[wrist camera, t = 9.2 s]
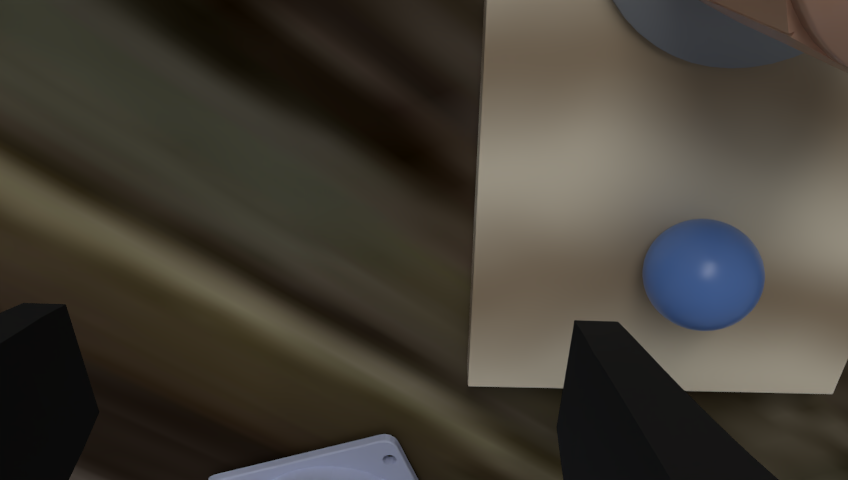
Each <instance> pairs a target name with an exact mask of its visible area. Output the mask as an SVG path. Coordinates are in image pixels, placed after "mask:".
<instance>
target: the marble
mask: <svg viewBox="0 0 848 480" xmlns="http://www.w3.org/2000/svg"><path fill="white" fill-rule="evenodd" d="M642 277H643V284H644V288H645V291H646V294H647V296H648V298H649V300H650V302H651V303H652V305H653V306H654V307H655V309H656V310H657V311H658V312H659V313H660V314H661V315H662V316H663V317H665V318H666V319H668V320H669V321H671V322H672V323H674V324H676V325H678V326H681V327H684V328H686V329H691V330H697V331H714V330H719V329H723V328H727V327H729V326H732V325H734V324H736V323H737V322H739V321H741V320H742V319H743V318H745V317H746V316H747V315H748V314H749V313H750V312H751V311H752V310H753V309H754V307H755V306H756V305H757V303H758V301H759V299H760V297H761V295H762V292H763V289H764V282H765V269H764V264H763V260H762V258H761V255H760V253H759V251H758V249H757V248H756V246H755V245H754V243H753V242H752V241H751V240H750V239H749V238H748V237H747V236H746V235H745V234H744V233H743V232H741V231H740V230H739V229H737V228H735V227H733V226H732V225H729V224H727V223H724V222H721V221H717V220H712V219H692V220H687V221H684V222H681V223H678V224H676V225H674V226H672V227H670V228H668V229H667V230H665V231H664V232H663V233H661V234H660V235H659V236H658V237H657V238H656V239H655V240H654V242H653V243H652V244H651V246H650V247H649V249H648V252H647V254H646V256H645V259H644V263H643V270H642Z"/></svg>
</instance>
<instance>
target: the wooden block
mask: <svg viewBox="0 0 848 480" xmlns="http://www.w3.org/2000/svg"><path fill="white" fill-rule="evenodd" d="M699 1H701V2H703V3H704V4H706V5H708V6H710V7H712V8H713V9H715V10H717V11H719V12H721V13H722V14H724V15H726V16H728V17H730V18H732V19H733V20H735V21H737V22H739V23H741V24H743V25H746V26H748V27H750V28H752V29H754V30H756V31H758V32H761V33H763V34H765V35H767V36H769V37H771V38H773V39H776V40H778V41H780V42H782V43H784V44H786V45H788V46H791V47H793V48H795V49H797V50H799V51H801V52H803V53H806V54H808V55H810V56H812V57H814V58H816V59H818V60H821V61H823V62H825V63H827V64H829V65H831V66H833V67H836V68H838V69H840V70H842V71H844V72H846V73H848V0H699Z"/></svg>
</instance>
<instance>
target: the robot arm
mask: <svg viewBox="0 0 848 480" xmlns="http://www.w3.org/2000/svg"><path fill="white" fill-rule="evenodd" d="M98 414H99V410H98V407H97V404H96V400H95V397H94V394H93V391H92V387H91V384H90V381H89V378H88V375H87V371H86V368H85V365H84V362H83V359H82V355H81V352H80V349H79V346H78V343H77V339H76V336H75V333H74V330H73V326H72V323H71V320H70V317H69V314H68V310H67V307H66V304H34V303H23V304H20V305H18V306H16V307H13V308H11V309H8V310H6V311H4V312H2V313H0V480H69V478H70V476H71V474H72V472H73V470H74V467H75V465H76V463H77V461H78V459H79V457H80V455H81V453H82V451H83V449H84V446H85V444H86V442H87V439H88V437H89V435H90V432H91V430H92V428H93V425H94V423H95V421H96V418H97V416H98ZM557 434H558V442H559V450H560V458H561V465H562V472H563V479H564V480H778V479H777V478H776V477H775V476H774V475H773V474H771V473H770V472H769V471H768V470H767V469H766V468H765V467H764V466H762V465H761V464H760V463H759V462H758V461H757V460H756V459H755V458H753V457H752V456H751V455H750V454H749V453H748V452H747V451H746V450H745V449H744V448H743V447H742V446H741V445H739V444H738V443H737V442H736V441H735V440H734V439H733V438H732V437H731V436H730V435H729V434H728V433H727V432H726V431H725V430H724V429H723V428H722V427H721V426H719V425H718V424H717V423H716V422H715V421H714V420H713V419H712V418H711V417H710V416H709V415H708V414H707V413H706V412H705V411H704V410H703V409H702V408H701V407H700V406H699V405H698V404H697V403H696V402H695V401H694V400H693V399H692V398H691V397H690V396H689V395H688V394H687V393H686V392H685V391H684V390H683V389H682V388H681V387H680V386H679V385H678V384H677V382H676V381H675V380H674V379H673V378H672V377H671V376H670V375H669V374H668V373H667V372H666V371H665V370H664V369H663V368H662V367H661V366H660V365H659V364H658V363H657V362H656V361H655V360H654V358H653V357H652V356H651V355H650V354H649V353H648V352H647V351H646V350H645V349H644V348H643V347H642V346H641V345H640V344H639V343H638V342H637V340H636V339H635V338H634V337H633V336H632V335H631V334H630V333H629V332H628V331H627V330H626V329H625V328H624V327H623V326H622V325H621V324H620V323H619V322H616V321H583V320H574V326H573V332H572V338H571V344H570V350H569V356H568V362H567V368H566V374H565V380H564V386H563V392H562V398H561V405H560V411H559V417H558V423H557ZM386 455H392V456H386ZM208 480H418V478H417V476H416V474H415V472H414V470H413V468H412V466H411V465H410V463H409V461H408V459H407V457H406V455H405V453H404V451H403V449H402V448H401V446H400V444H399V442H398V440H397V439H396V438H395V437H393V436H392V435H388V434H380V435H376V436H372V437H368V438H364V439H360V440H356V441H351V442H347V443H343V444H339V445H335V446H331V447H327V448H323V449H318V450H314V451H310V452H306V453H302V454H298V455H294V456H289V457H285V458H281V459H277V460H273V461H269V462H265V463H260V464H256V465H252V466H248V467H244V468H240V469H236V470H232V471H227V472H223V473H219V474H215V475H212V476H211V477H210V478H209V479H208Z"/></svg>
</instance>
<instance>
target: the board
mask: <svg viewBox="0 0 848 480" xmlns="http://www.w3.org/2000/svg"><path fill="white" fill-rule="evenodd" d="M692 219H712V220H717V221H721V222H724V223H727V224H729V225H732V226H733V227H735V228H737V229H739V230H740V231H741V232H743V233H744V234H745V235H746V236H747V237H748V238H749V239H750V240H751V241H752V242H753V243H754V245H755V246H756V248H757V249H758V251H759V253H760V255H761V258H762V260H763V264H764V269H765V282H764V289H763V292H762V295H761V297H760V299H759V301H758V303H757V305H756V306H755V307H754V309H753V310H752V311H751V312H750V313H749V314H748V315H747V316H746V317H745V318H743V319H742V320H741V321H739V322H737V323H736V324H734V325H732V326H729V327H727V328H723V329H719V330H714V331H697V330H691V329H686V328H684V327H681V326H678V325H676V324H674V323H672V322H671V321H669V320H668V319H666V318H665V317H663V316H662V315H661V314H660V313H659V312H658V311H657V310H656V309H655V307H654V306H653V305H652V303H651V302H650V300H649V298H648V296H647V294H646V291H645V288H644V284H643V277H642V270H643V263H644V259H645V256H646V254H647V252H648V249H649V247H650V246H651V244H652V243H653V242H654V240H655V239H656V238H657V237H658V236H659V235H660V234H661V233H663V232H664V231H665V230H667V229H668V228H670V227H672V226H674V225H676V224H678V223H681V222H684V221H687V220H692ZM574 320H583V321H616V322H619V323H620V324H621V325H622V326H623V327H624V328H625V329H626V330H627V331H628V332H629V333H630V334H631V335H632V336H633V337H634V338H635V339H636V340H637V342H638V343H639V344H640V345H641V346H642V347H643V348H644V349H645V350H646V351H647V352H648V353H649V354H650V355H651V356H652V357H653V358H654V360H655V361H656V362H657V363H658V364H659V365H660V366H661V367H662V368H663V369H664V370H665V371H666V372H667V373H668V374H669V375H670V376H671V377H672V378H673V379H674V380H675V381H676V382H677V384H678V385H679V386H680V387H681V388H682V389H683V390H684V391H713V392H760V393H806V394H833V392H834V390H835V387H836V385H837V383H838V380H839V378H840V376H841V373H842V371H843V368H844V366H845V364H846V361H847V359H848V73H846V72H844V71H842V70H840V69H838V68H836V67H833V66H831V65H829V64H827V63H825V62H823V61H821V60H818V59H816V58H814V57H812V56H810V55H808V54H806V53H803V52H801V51H799V50H797V49H795V48H793V47H791V46H788V45H786V44H784V43H782V42H780V41H778V40H776V39H773V38H771V37H769V36H767V35H765V34H763V33H761V32H758V31H756V30H754V29H752V28H750V27H748V26H746V25H743V24H741V23H739V22H737V21H735V20H733V19H732V18H730V17H728V16H726V15H724V14H722V13H721V12H719V11H717V10H715V9H713V8H712V7H710V6H708V5H706V4H704V3H703V2H701V1H699V0H484V19H483V40H482V61H481V82H480V104H479V125H478V146H477V167H476V189H475V210H474V231H473V252H472V273H471V295H470V316H469V337H468V358H467V374H468V386H480V387H526V388H563V386H564V380H565V374H566V368H567V362H568V356H569V350H570V344H571V338H572V332H573V326H574Z"/></svg>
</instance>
